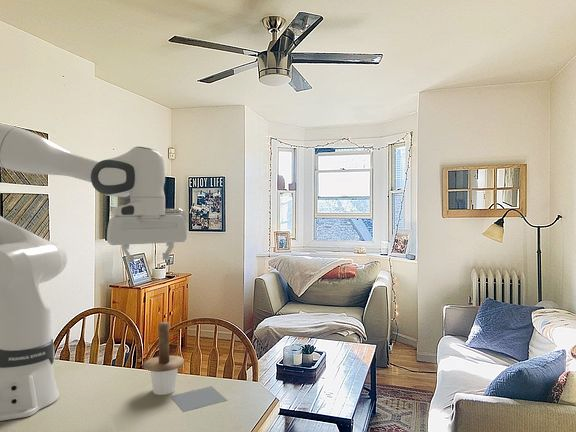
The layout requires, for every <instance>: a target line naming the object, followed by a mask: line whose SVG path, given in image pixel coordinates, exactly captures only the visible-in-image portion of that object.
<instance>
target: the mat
mask: <svg viewBox="0 0 576 432" xmlns="http://www.w3.org/2000/svg"><path fill="white" fill-rule="evenodd" d="M169 397H170V398H171V399H172V401H173V402H174V403H175V404H176V405H177V407H178V408H179V409H180V410H181V411H182V412H183V413H185V412H188V411H193V410H196V409H201V408H204V407H208V406H211V405H215V404H220V403H222V402H227V401H228V399H227V398H225V396H223V395H222V394H221V393H220V391H219V392H218V390H216V388H215V387H213V386H211V385H210V386H206V387H202V388H198V389H194V390H189V391H186V392H182V393H177V394H172V395H169Z"/></svg>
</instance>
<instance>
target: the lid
mask: <svg viewBox="0 0 576 432" xmlns="http://www.w3.org/2000/svg"><path fill="white" fill-rule="evenodd" d="M184 365H185V359H184V358H183V357H182V356H178V355H170V322H169V321H162V322H161V321H160V322H158V356H156V357H151V358H149V359H147V360H145V361H144V362H143V369H144V370H146V371H148V372H151V371H154V372H163V371H170V370H174V369H177V368H178V369H179V368H181V367H182V366H184Z"/></svg>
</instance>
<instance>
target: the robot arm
mask: <svg viewBox="0 0 576 432" xmlns="http://www.w3.org/2000/svg"><path fill="white" fill-rule="evenodd" d="M0 167H1V168H4V169H6V170H10V171H14V172H17V173H18V172H20V173H25V174H30V175H31V174H34V175H48V176H49V175H51V176H63V177H71V178H75V179H78V180H82V181H85V182H88V183H91V185H92V187H93V188H94V189H95V191H96V192H99V193H100V194H102V195H104V196H109V197H116V198H120V199H123V200H124V199H125V200H126V199H130V202H128V203H127V202H126V203H123V204H121V205H118V206H114V207H112V209H111V214H112V217H111V218H110V219H109V220H108V225H107V231H106V242H107V243H108V245H110V246H120V245H121V250H122V251H123V254H125V257H126V263H134V261H135V259H134V258H135V256H134V255H135V254H131V253H130V251H129V250H130V245H146V244H147V245H148V244H151V245H152V244H166V247H167V249H166V251H165V252H162V260H163V261H164V260H165V261H166V260H167V261H168V260H170V259H171V258H170V257H171V252H172V250H173V249H174V248H175V243H184V242H186V240H187V234H188V233H187V226H186V223H187V214H186V212H185V211H184V210H182V209H181V208H166V195H165V190H164V189H165V183H166V170H165V169H166V168H165V160H164V156H163V155H162V154H161V152H159V151H158V150H156V149H153V148H149V147H144V146H134V147H132V148H131V149H130V150H129V151H127V152H125V153H123V154H121V155H118V156H115V157H111V158H107V159H102V160H101V161H97V160H94V159H92V158H88V157H85V156H82V155H78V154H75V153H74V152H71V151H69V150H67V149H66V148H63V147H62V146H59V145H58V144H56V143H54V142H52V141H51V140H49V139H47V138H45V137H43V136H41V135H40V134H36V133H35V132H32V131H29V130H27V129H24V128H21V127H17V126H14V125H9V124H7V123H6V124H5V123H2V122H0ZM67 263H68V257H67V253H66V251H65V249H64V248H63V247H62V245H60V244H58V243H56V242H53V241H50V240H48V239H45V238H43V237H41V236H40V235H39V236H38V235H37V234H35V233H33V232H31V231H29V230H28V229H26V228H24V227H21V226H19V225H17V224H15V223H13V222H12V221H9V220H8V219H6V218H5V217H3V216H2V215H0V422H1V421H7V420H14V419H21V418H27V417H30V416H33V415H34V414H36V413H37V412H38V411H40V410H41V409H43V408H46V407H48V406H49V405H51V404H53V403H55V402H56V401H57V400H58V399H59V398H60V395H61V393H60V391H59V389H58V386H57V382H56V378H55V377H56V376H55V371H54V361H55V344H54V339H53V338H52V310H51V308H50V306H49V305H48V304H46V303H45V302H44V300H43V298H42V295H41V293H40V292H41V291H40V288H39V284H43V283H47V282H49V281H51V280H52V279H54V278H56V277H57V276H58V275H60V274H61V273H62V272H63V271H64V270H65V268H66V266H67Z"/></svg>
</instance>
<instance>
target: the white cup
mask: <svg viewBox="0 0 576 432" xmlns="http://www.w3.org/2000/svg"><path fill="white" fill-rule="evenodd" d="M178 370H179V368H177V369H174V370H170V371H163V372H154V371H150V375H151V377H150V378H151V383H152V384H151V385H152V386H151V387H152V393H153V394H154V395H161V396H163V395H164V396H165V395H169V394H172V393H174V392H175V391H176V389H177V379H178Z"/></svg>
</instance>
